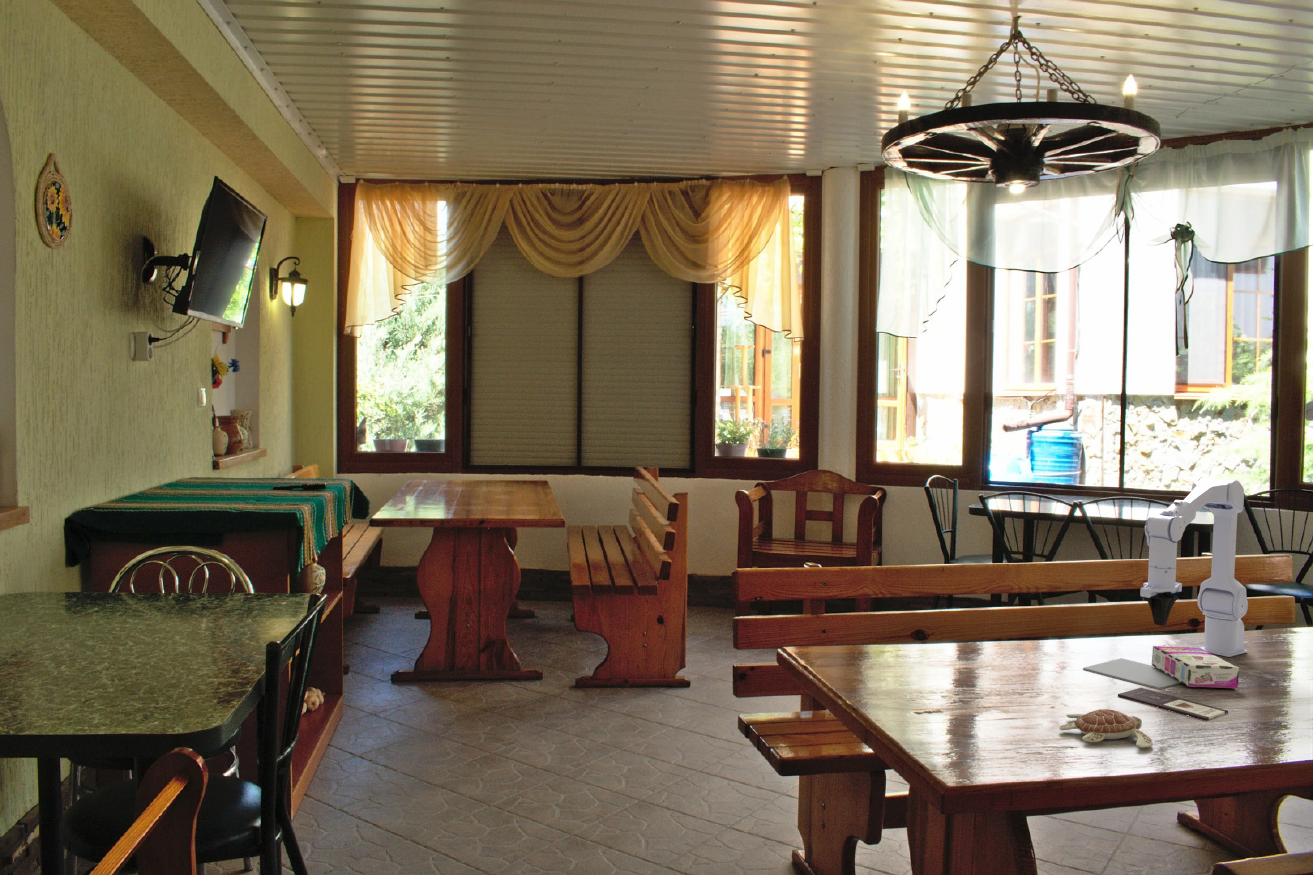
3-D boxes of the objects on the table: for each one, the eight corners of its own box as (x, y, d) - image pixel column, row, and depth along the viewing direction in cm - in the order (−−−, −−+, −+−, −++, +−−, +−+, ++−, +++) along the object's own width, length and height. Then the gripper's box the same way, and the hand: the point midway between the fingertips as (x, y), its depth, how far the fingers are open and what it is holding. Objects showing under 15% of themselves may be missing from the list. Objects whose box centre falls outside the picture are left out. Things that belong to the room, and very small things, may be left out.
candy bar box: (1150, 666, 228) (1186, 687, 212) (1151, 645, 228) (1188, 664, 212) (1199, 668, 228) (1239, 689, 211) (1200, 647, 228) (1240, 666, 211)
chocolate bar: (1140, 687, 211) (1228, 710, 196) (1140, 691, 211) (1227, 715, 196) (1117, 693, 206) (1205, 718, 191) (1117, 698, 206) (1205, 722, 191)
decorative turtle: (1181, 748, 177) (1182, 721, 177) (1110, 759, 171) (1111, 730, 171) (1103, 717, 194) (1104, 692, 194) (1036, 725, 188) (1037, 699, 188)
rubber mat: (1121, 659, 235) (1121, 658, 235) (1197, 678, 220) (1197, 676, 220) (1083, 669, 226) (1083, 667, 226) (1159, 689, 211) (1159, 687, 211)
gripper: (1161, 561, 234) (1159, 617, 235) (1128, 566, 226) (1126, 624, 227) (1191, 566, 228) (1189, 623, 229) (1158, 571, 220) (1156, 631, 221)
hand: (1160, 624), depth 227 cm, fingers closed
